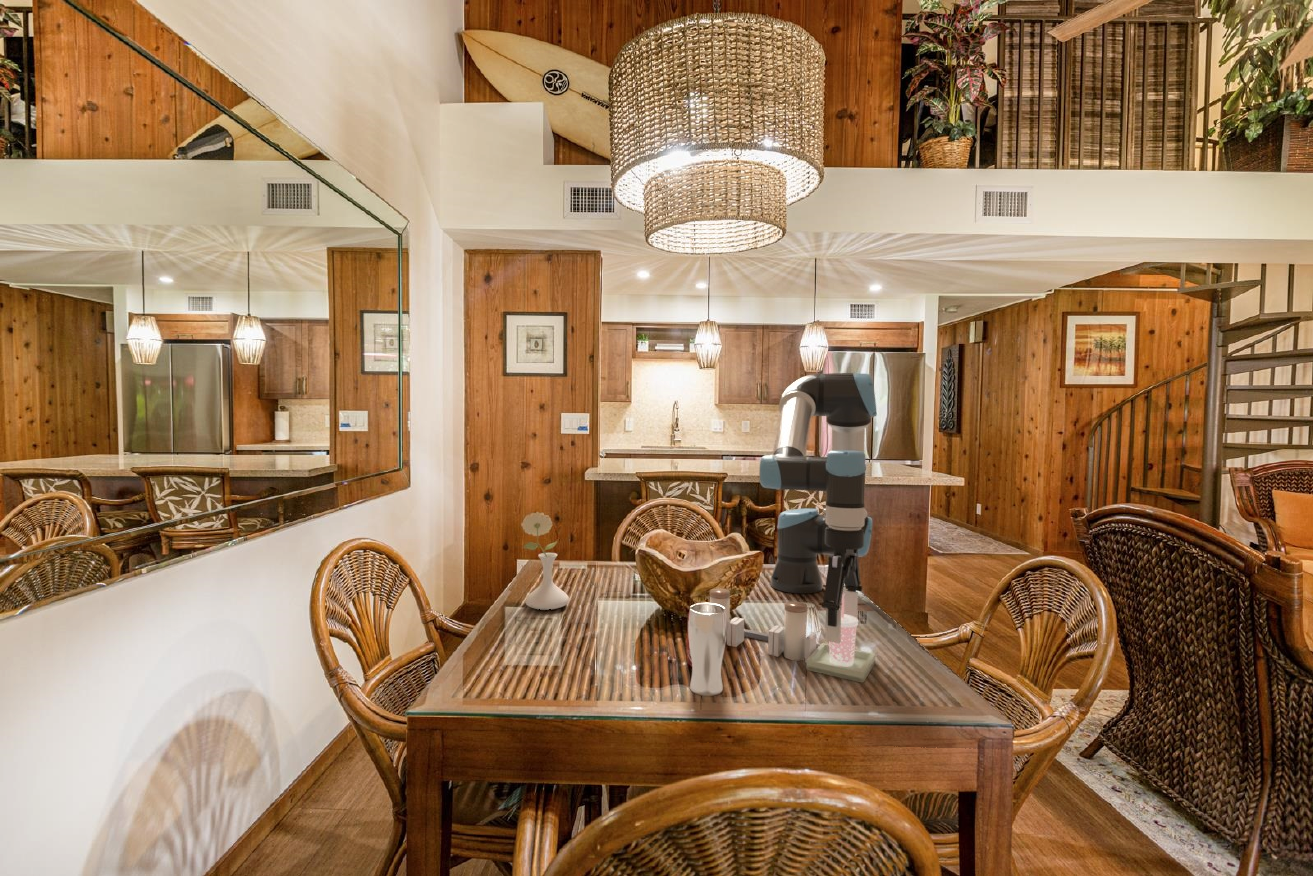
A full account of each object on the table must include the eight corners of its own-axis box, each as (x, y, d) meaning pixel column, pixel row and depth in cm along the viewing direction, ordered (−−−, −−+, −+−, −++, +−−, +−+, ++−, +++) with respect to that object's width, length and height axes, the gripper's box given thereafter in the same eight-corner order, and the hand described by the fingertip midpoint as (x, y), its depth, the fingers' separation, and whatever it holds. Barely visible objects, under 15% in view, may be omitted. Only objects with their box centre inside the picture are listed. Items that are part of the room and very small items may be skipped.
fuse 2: (787, 650, 130) (788, 600, 129) (808, 655, 127) (809, 603, 127) (780, 657, 126) (781, 605, 125) (801, 662, 123) (803, 609, 123)
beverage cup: (842, 670, 117) (844, 600, 117) (819, 659, 123) (821, 592, 122) (864, 664, 120) (865, 595, 120) (840, 654, 126) (842, 588, 125)
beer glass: (685, 680, 114) (686, 602, 113) (721, 680, 114) (722, 602, 114) (690, 697, 107) (691, 614, 106) (728, 697, 107) (729, 614, 107)
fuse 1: (714, 634, 139) (715, 587, 138) (732, 638, 136) (733, 590, 136) (705, 640, 135) (706, 592, 134) (724, 644, 132) (724, 595, 132)
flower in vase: (574, 601, 162) (575, 509, 161) (561, 615, 151) (562, 516, 150) (528, 598, 164) (528, 508, 163) (512, 612, 153) (512, 514, 152)
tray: (821, 652, 129) (822, 642, 129) (875, 663, 123) (875, 653, 123) (806, 669, 120) (806, 659, 119) (863, 683, 114) (863, 672, 114)
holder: (714, 627, 143) (714, 607, 143) (822, 650, 130) (823, 628, 129) (698, 638, 136) (698, 616, 136) (811, 664, 122) (811, 640, 122)
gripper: (841, 517, 133) (839, 611, 134) (807, 534, 112) (804, 646, 112) (876, 520, 129) (874, 617, 130) (848, 539, 108) (845, 655, 109)
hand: (842, 631), depth 121 cm, fingers open, 13 cm apart
